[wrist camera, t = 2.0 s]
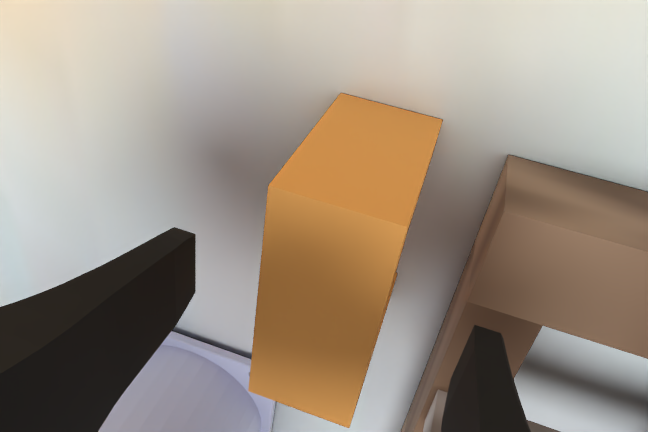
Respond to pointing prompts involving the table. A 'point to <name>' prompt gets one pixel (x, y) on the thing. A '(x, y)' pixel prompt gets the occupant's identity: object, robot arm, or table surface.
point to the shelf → (545, 274)
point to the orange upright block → (335, 253)
